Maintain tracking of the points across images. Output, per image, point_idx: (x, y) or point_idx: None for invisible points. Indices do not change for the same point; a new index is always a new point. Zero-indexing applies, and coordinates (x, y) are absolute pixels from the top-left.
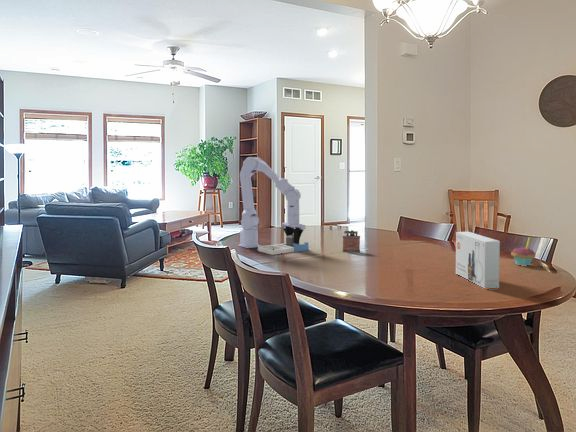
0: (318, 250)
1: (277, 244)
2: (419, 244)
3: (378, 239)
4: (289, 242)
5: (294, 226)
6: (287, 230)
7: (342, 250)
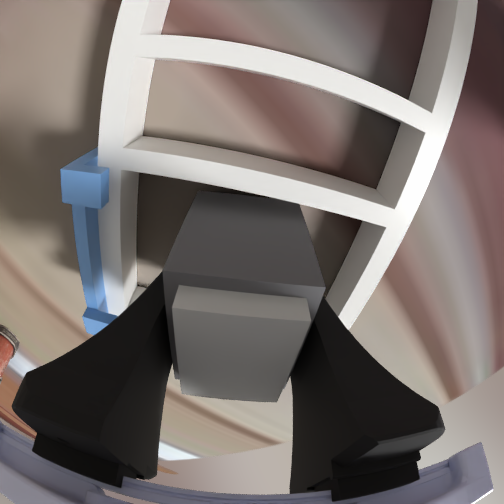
0: (71, 308)
1: (415, 188)
2: None
3: (164, 468)
4: (232, 231)
5: (54, 497)
6: (340, 425)
7: (8, 336)
